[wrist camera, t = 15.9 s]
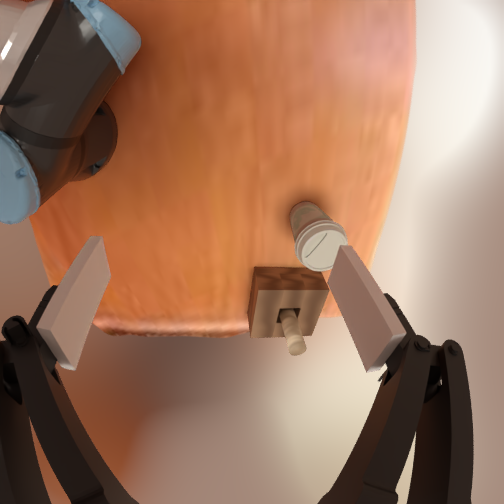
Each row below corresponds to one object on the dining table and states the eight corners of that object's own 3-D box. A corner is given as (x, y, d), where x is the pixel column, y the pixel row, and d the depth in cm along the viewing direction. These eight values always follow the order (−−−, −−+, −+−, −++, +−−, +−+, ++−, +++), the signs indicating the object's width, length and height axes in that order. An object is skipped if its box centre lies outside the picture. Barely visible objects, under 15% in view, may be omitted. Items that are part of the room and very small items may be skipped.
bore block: (247, 314, 62) (250, 337, 57) (254, 266, 55) (258, 290, 49) (304, 313, 64) (311, 335, 59) (319, 268, 57) (329, 289, 51)
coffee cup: (318, 187, 46) (344, 217, 37) (330, 225, 51) (355, 261, 41) (275, 205, 48) (290, 241, 38) (290, 242, 52) (306, 282, 42)
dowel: (274, 304, 58) (287, 355, 47) (276, 293, 57) (291, 345, 45) (288, 304, 59) (303, 354, 47) (291, 293, 57) (308, 344, 46)
